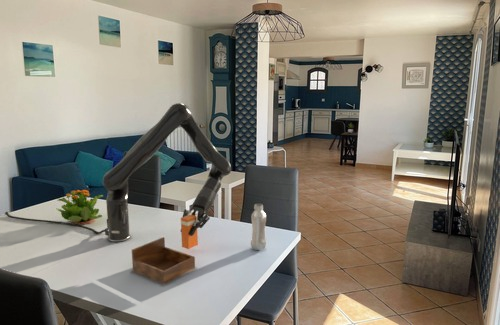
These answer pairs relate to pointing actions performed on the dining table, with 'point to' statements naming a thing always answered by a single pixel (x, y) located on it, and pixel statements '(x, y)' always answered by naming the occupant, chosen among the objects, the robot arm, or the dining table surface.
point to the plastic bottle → (258, 228)
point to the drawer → (161, 261)
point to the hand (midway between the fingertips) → (186, 233)
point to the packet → (185, 228)
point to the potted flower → (80, 208)
